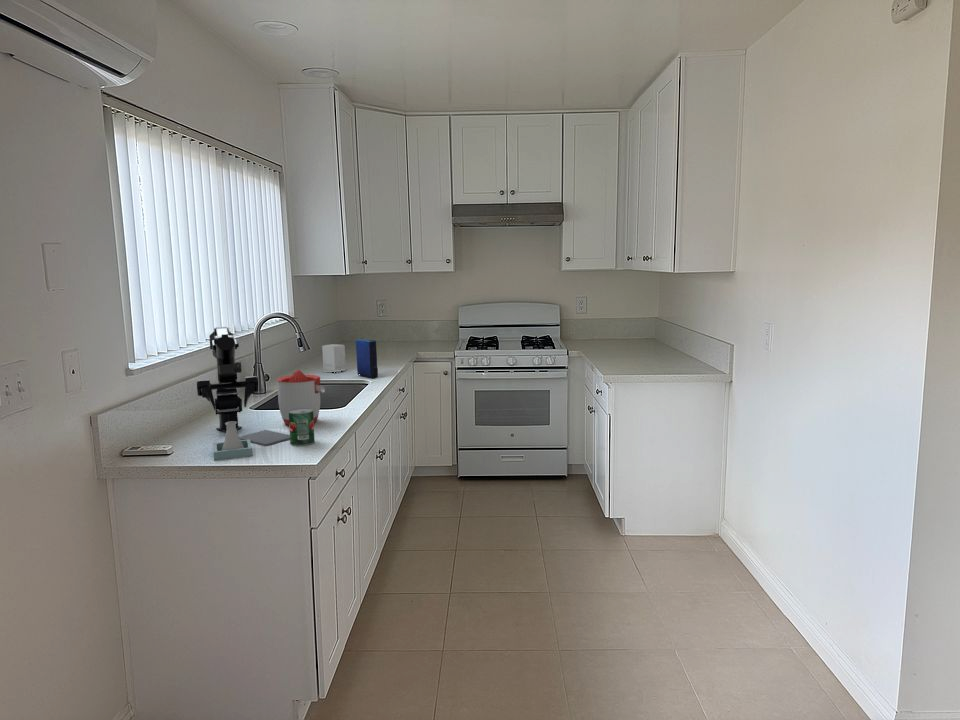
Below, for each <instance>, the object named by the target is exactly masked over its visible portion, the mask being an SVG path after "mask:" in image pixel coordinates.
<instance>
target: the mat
mask: <svg viewBox="0 0 960 720" xmlns="http://www.w3.org/2000/svg"><path fill="white" fill-rule="evenodd" d="M238 436H239V435H238ZM239 438H240V440H249V439H250V442H251V444H256V445H261V446H264V447H267V446H272V445H275V444H278V443H282V442H286V441H290V434H287V433H283V432H278V431H272V430H268V429H262V430H259V431H255V432H252V433H248V434H245V435H244V434H243V435H241V436H239Z"/></svg>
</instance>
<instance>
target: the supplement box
mask: <svg viewBox="0 0 960 720" xmlns="http://www.w3.org/2000/svg"><path fill="white" fill-rule="evenodd" d="M321 348H322V349H321V351H322V366H323V367H322V369H326V370H341V369H345V368H346V365H347V364H346V348H345V344H336V343H333V344H332V343H331V344H324V345H321ZM341 371H344V372H346V371H345V370H341ZM341 371H336V372H339V373H342V372H341ZM323 372H324V370H323ZM327 372H333V371H326V372H325V373H327ZM333 374H336V373H335V372H334V373H333Z"/></svg>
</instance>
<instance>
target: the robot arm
mask: <svg viewBox="0 0 960 720" xmlns="http://www.w3.org/2000/svg"><path fill="white" fill-rule="evenodd" d="M229 329H230V328H229V327H228V326H217V327H214V328H213V332H211V333H210V335H209V350H211V352H212V356H213V357H214V358H215V359H216V367H217V368H216V369H217V382H214V383H213V382H211V381H210V379H199V380H197V381H196V389H197V390H196V391H197V396H199V397H202V398H205V399H206V400H207V401H208V402H209V404H210V406H211V407H212V409H213V410H214V411H215V415H218V418H219V419H218V420H219V427H215V429H216V430H217V431H223V432H225V433H226V431H227V427H226V425H225V423H226V422H230V421H235V422H237V423H236V430H239V429H242V428H243V426H239V419H238V418H239V417H238V413H242V412H243V405H244V408H246V407H247V405H248V401H249V398H250V397H251V395H252V394H255V392H258V391H259V378H258V377H257V376H256V375H253V376H245V377H244V378H245V379H244V380H241V381H238V374H239V373H242V372H243V371H242V362H241V361H238V362H237V361H236V359H235V358H236V356H235V355H236V350H238V348H239V347H240V346H239V343H240V342H238V341H237V339H236V338H234V334H233V332H231V331H230V330H229ZM240 388H241V389H242V388H243V389H244V400H243V399H242V398H241V396H240V395H238V394H239V393H238V389H240ZM214 390H216V392H215V393H216V394H215V396H216V397H214V395H213V391H214Z"/></svg>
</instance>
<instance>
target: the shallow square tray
mask: <svg viewBox="0 0 960 720" xmlns="http://www.w3.org/2000/svg"><path fill="white" fill-rule="evenodd" d="M241 443H242V445H243V447H244V448H240V449H231V450H222V447H223V444H224V441H222V442H221V441H220V442H213V444H212V445H213V446H212V447H213V460H214V461H220V460H228V459H237V458H244V457H245V458H246V457H253V456H254V455H253V446H252V443H251V442H250V439H249V440H241ZM221 450H222V451H221Z"/></svg>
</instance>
